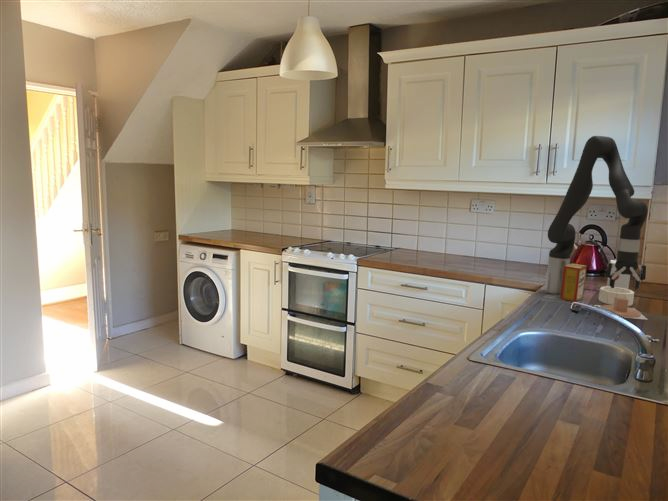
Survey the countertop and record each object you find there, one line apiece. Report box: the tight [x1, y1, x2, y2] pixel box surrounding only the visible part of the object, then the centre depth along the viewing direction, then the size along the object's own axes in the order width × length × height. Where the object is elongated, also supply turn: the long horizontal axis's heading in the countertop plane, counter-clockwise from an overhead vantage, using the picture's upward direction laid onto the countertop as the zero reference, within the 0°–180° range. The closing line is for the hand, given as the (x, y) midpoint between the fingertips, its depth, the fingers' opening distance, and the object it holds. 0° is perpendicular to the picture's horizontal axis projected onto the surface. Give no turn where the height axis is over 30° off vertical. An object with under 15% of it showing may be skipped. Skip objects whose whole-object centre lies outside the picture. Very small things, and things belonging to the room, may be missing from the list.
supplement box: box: [606, 259, 631, 289], centre depth 242 cm, size 9×9×15 cm
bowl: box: [598, 285, 635, 307], centre depth 223 cm, size 13×13×6 cm
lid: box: [600, 297, 642, 319], centre depth 207 cm, size 15×15×6 cm
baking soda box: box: [560, 263, 588, 302], centre depth 226 cm, size 10×6×16 cm
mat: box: [593, 304, 649, 321], centre depth 208 cm, size 16×16×1 cm
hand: (623, 288), depth 206 cm, fingers open, 8 cm apart
